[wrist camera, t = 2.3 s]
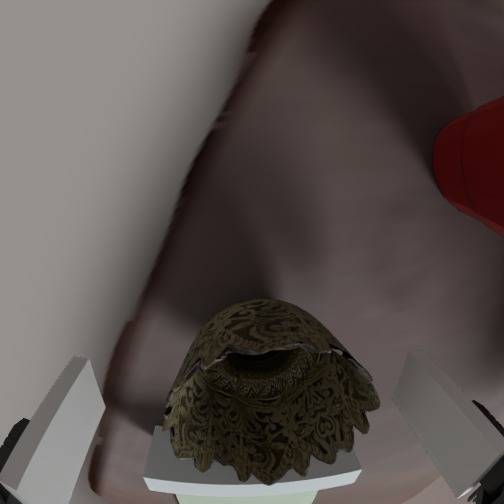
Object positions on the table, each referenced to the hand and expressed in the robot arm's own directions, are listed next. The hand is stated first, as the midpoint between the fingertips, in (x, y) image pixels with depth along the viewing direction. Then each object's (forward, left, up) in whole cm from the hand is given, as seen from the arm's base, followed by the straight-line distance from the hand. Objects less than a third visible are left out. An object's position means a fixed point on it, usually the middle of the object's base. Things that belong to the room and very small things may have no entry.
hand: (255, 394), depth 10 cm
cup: (0, 0, -6) cm, 6 cm away
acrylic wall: (0, +10, -6) cm, 12 cm away
